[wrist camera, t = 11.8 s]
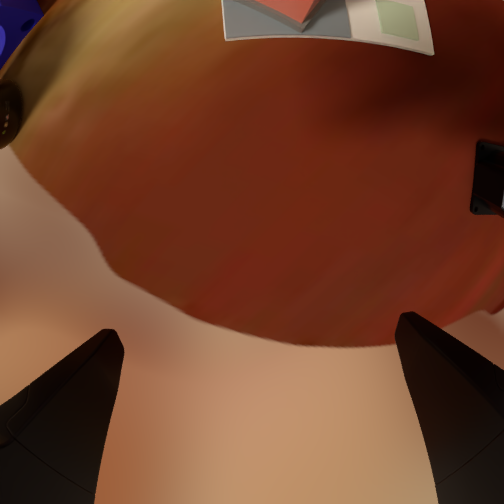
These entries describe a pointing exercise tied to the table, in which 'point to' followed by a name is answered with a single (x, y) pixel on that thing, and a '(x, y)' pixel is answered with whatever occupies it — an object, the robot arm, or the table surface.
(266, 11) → the salmon block on plinth
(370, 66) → the table surface
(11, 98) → the supplement bottle
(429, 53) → the panel board
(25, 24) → the blue cradle bracket
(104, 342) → the robot arm
